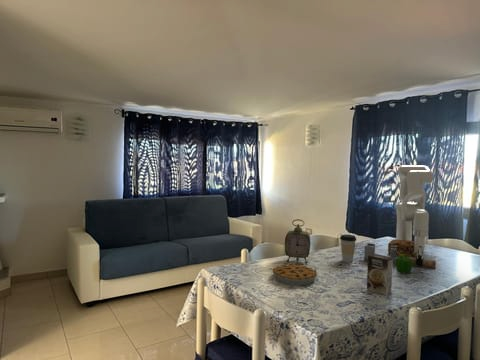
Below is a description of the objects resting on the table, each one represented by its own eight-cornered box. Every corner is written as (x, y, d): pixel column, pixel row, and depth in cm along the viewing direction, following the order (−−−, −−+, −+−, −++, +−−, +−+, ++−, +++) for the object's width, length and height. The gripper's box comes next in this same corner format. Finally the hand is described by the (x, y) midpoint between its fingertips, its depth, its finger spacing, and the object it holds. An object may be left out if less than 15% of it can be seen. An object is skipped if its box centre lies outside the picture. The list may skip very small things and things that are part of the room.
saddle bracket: (390, 260, 202) (391, 245, 201) (396, 261, 200) (396, 246, 200) (390, 264, 194) (390, 248, 194) (395, 264, 193) (396, 249, 192)
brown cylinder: (403, 265, 193) (403, 257, 192) (403, 263, 197) (403, 255, 196) (435, 269, 186) (435, 261, 185) (434, 267, 190) (435, 259, 189)
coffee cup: (353, 258, 204) (354, 234, 203) (357, 263, 194) (358, 237, 193) (337, 258, 205) (338, 233, 204) (340, 262, 195) (341, 237, 194)
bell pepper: (410, 270, 182) (411, 252, 181) (413, 275, 174) (414, 256, 173) (393, 269, 184) (394, 251, 184) (396, 274, 176) (397, 255, 176)
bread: (424, 257, 209) (424, 241, 209) (417, 260, 202) (417, 244, 202) (394, 251, 223) (394, 236, 223) (386, 254, 216) (387, 238, 216)
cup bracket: (365, 257, 208) (366, 242, 207) (374, 258, 206) (375, 243, 205) (364, 260, 200) (364, 245, 200) (373, 261, 198) (373, 246, 197)
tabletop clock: (284, 262, 194) (285, 219, 192) (285, 258, 202) (286, 217, 201) (309, 264, 190) (310, 221, 189) (310, 260, 199) (311, 218, 198)
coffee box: (366, 290, 153) (367, 255, 152) (372, 286, 158) (373, 252, 157) (386, 296, 147) (387, 259, 146) (392, 292, 151) (393, 256, 150)
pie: (265, 274, 174) (265, 264, 173) (302, 270, 181) (302, 261, 181) (285, 289, 153) (285, 278, 153) (325, 283, 161) (326, 273, 161)
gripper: (412, 229, 200) (411, 259, 201) (413, 235, 184) (412, 267, 185) (427, 231, 196) (425, 261, 197) (429, 236, 181) (427, 269, 182)
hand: (419, 264), depth 191 cm, fingers open, 4 cm apart
